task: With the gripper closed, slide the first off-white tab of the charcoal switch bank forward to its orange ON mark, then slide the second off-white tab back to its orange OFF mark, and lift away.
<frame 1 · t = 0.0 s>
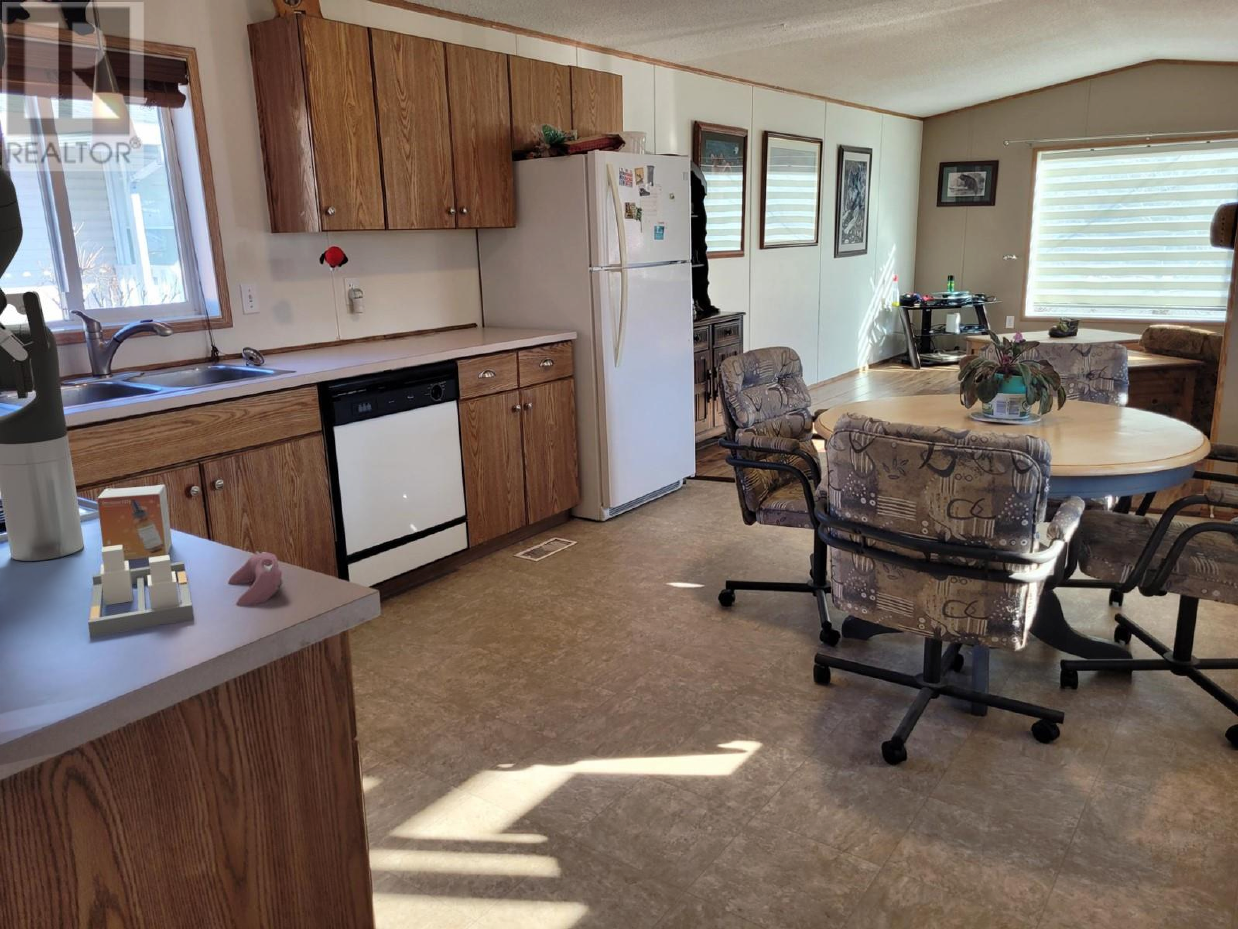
video game controller: (257, 601, 115), on the countertop
tab1: (115, 573, 111), point 5 cm above the countertop, slide at -3.0 cm
small box: (140, 562, 129), on the countertop
tab2: (162, 584, 107), point 5 cm above the countertop, slide at 4.0 cm
switch bank: (143, 612, 111), on the countertop
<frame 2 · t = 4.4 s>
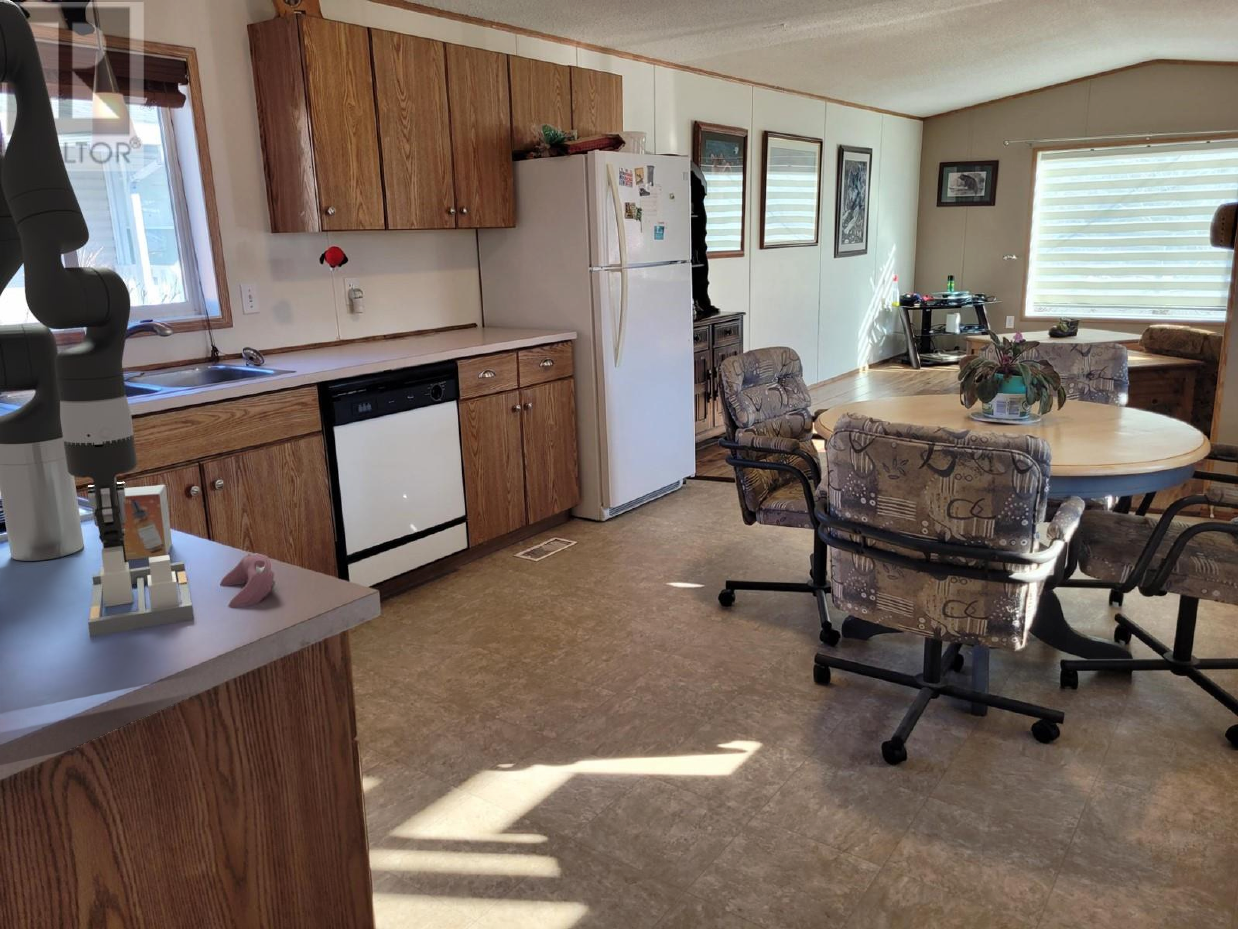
hand: (117, 567, 114), 4 cm above the countertop, tool pointing down, fingers closed
tab1: (115, 574, 111), point 5 cm above the countertop, slide at -2.4 cm, touching gripper
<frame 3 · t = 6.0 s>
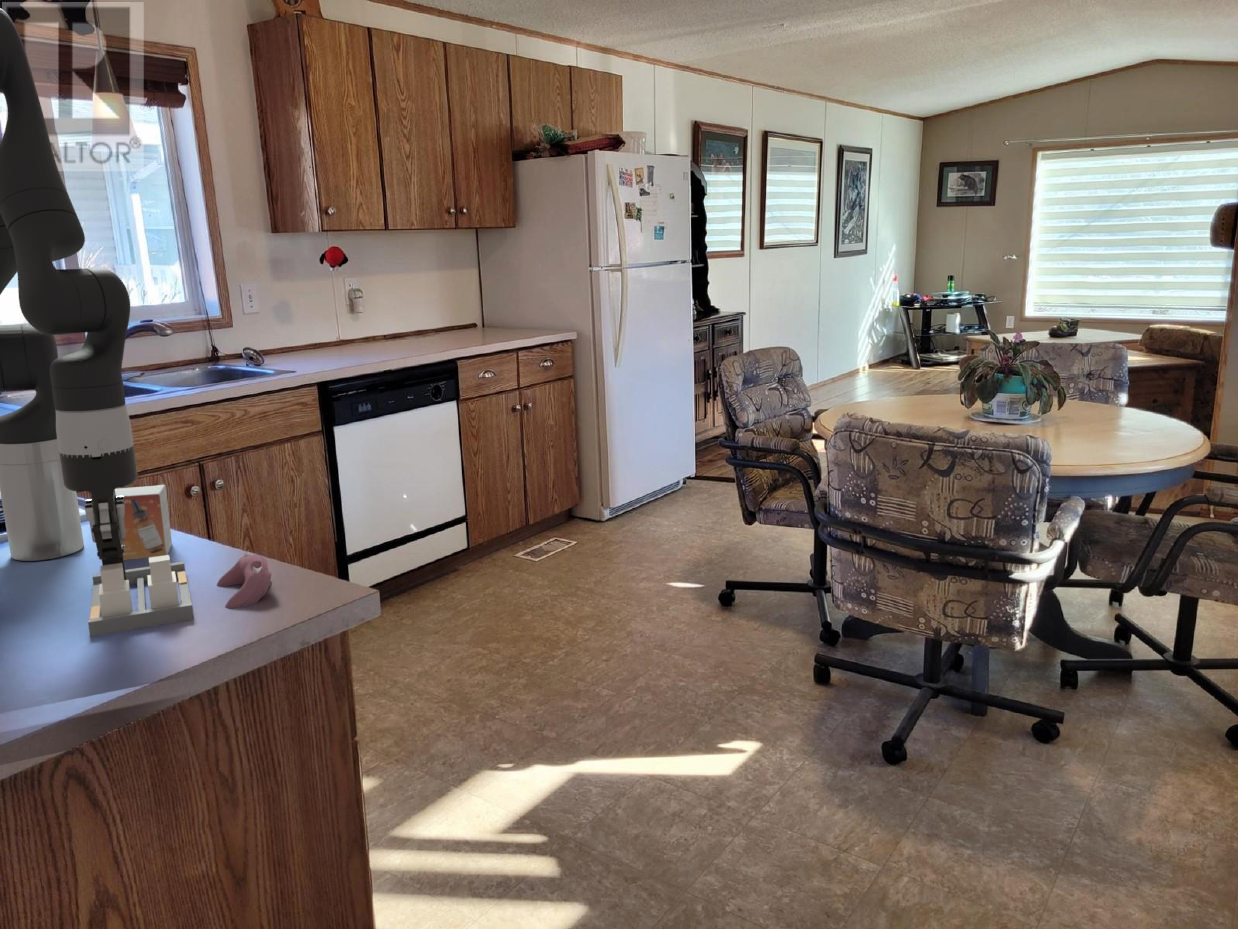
hand: (116, 585, 108), 4 cm above the countertop, tool pointing down, fingers closed
tab1: (115, 593, 105), point 5 cm above the countertop, slide at 4.5 cm, touching gripper
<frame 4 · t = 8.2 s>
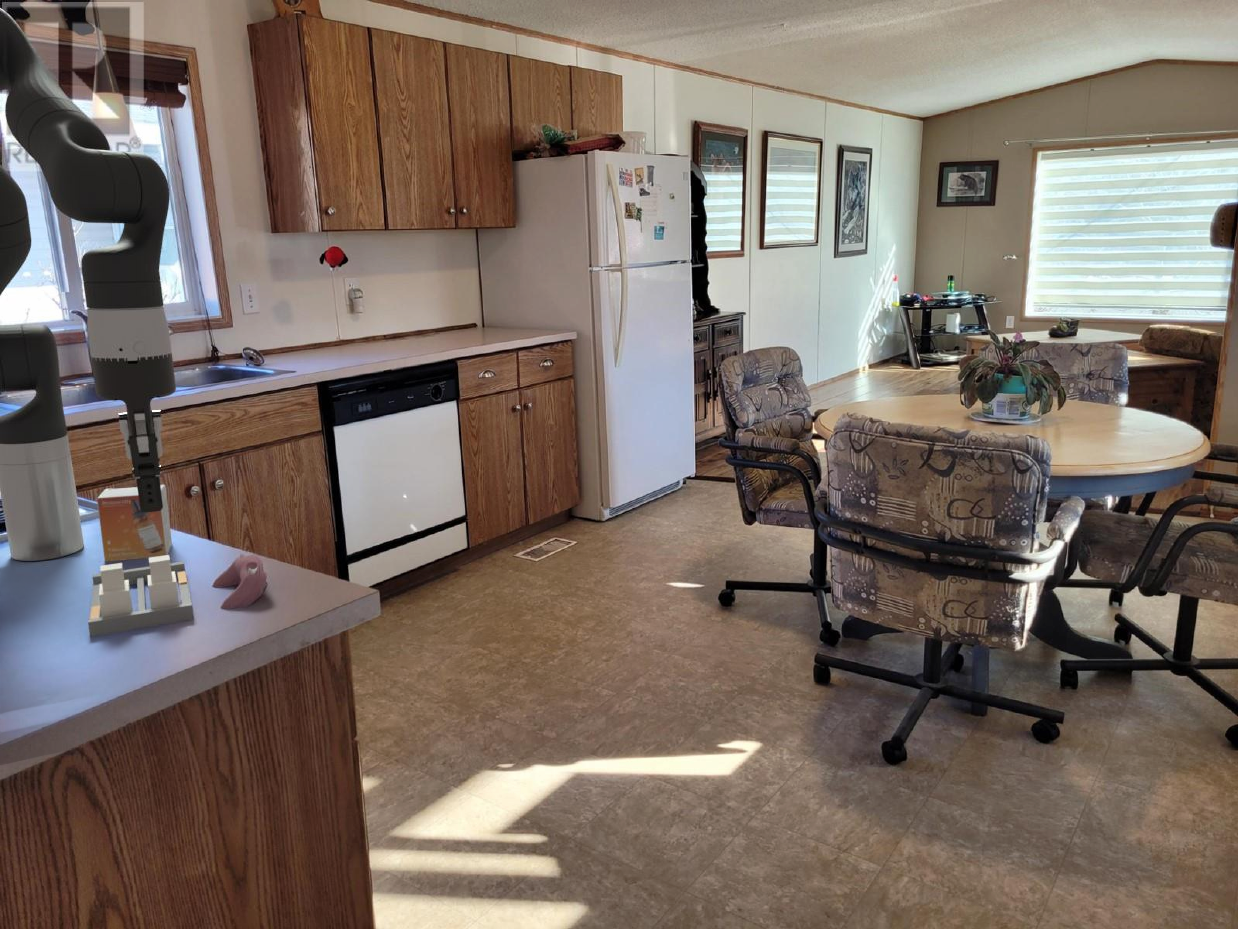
hand: (151, 510, 98), 16 cm above the countertop, tool pointing down, fingers closed
tab1: (115, 593, 105), point 5 cm above the countertop, slide at 4.5 cm
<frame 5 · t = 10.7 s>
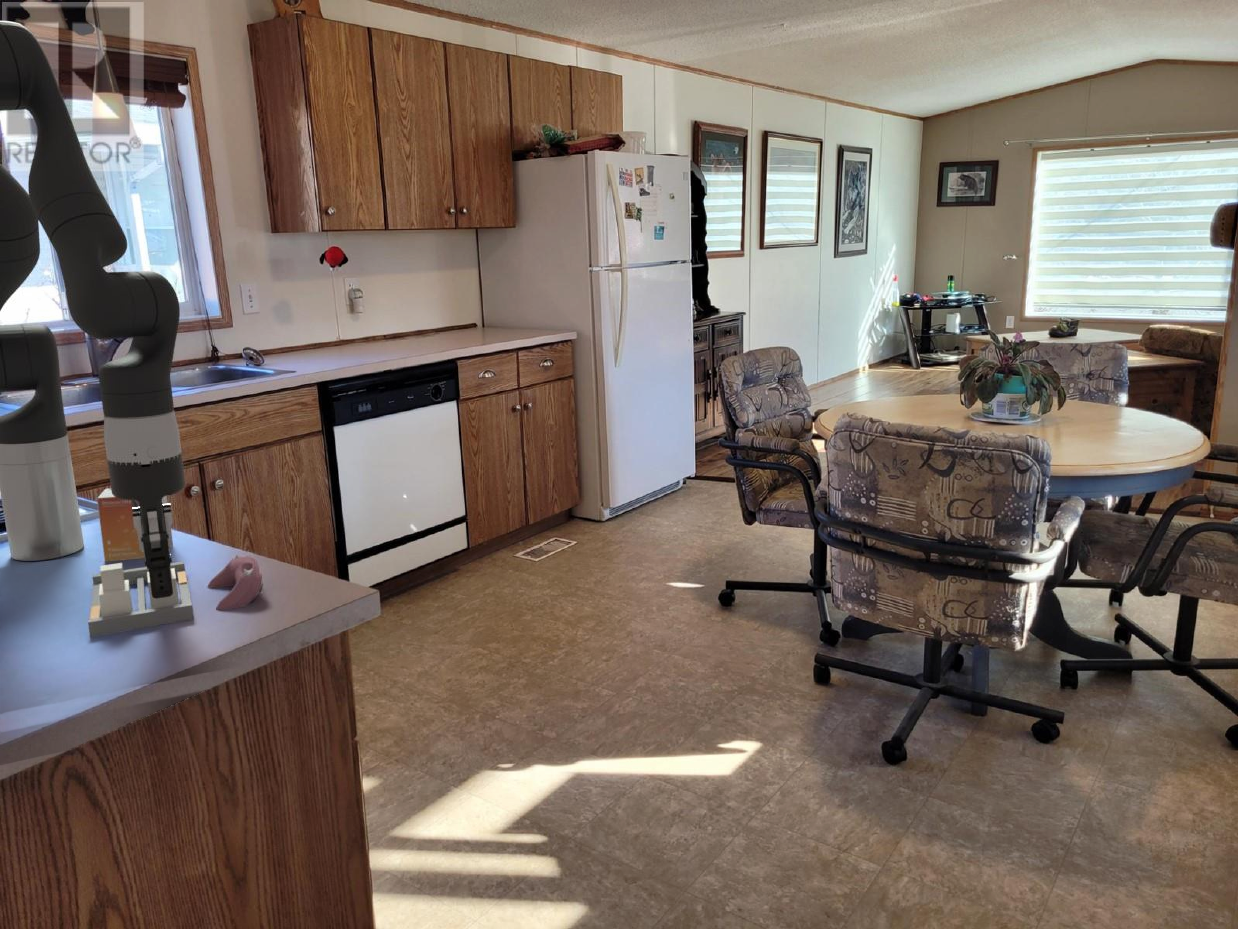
hand: (162, 595, 105), 4 cm above the countertop, tool pointing down, fingers closed
tab2: (162, 581, 109), point 5 cm above the countertop, slide at 2.7 cm, touching gripper
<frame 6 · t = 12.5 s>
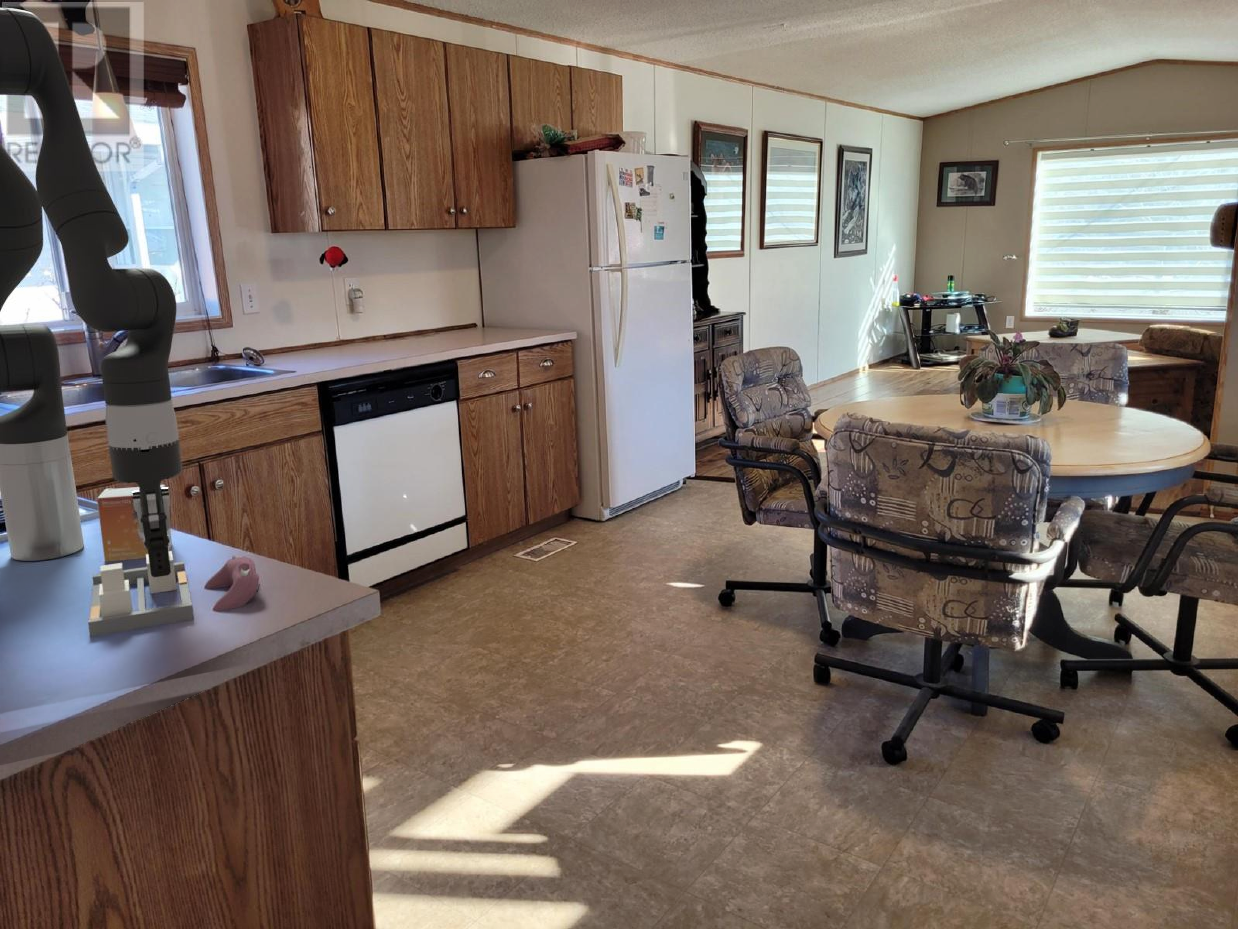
hand: (161, 574, 112), 4 cm above the countertop, tool pointing down, fingers closed
tab2: (160, 562, 115), point 5 cm above the countertop, slide at -4.5 cm, touching gripper
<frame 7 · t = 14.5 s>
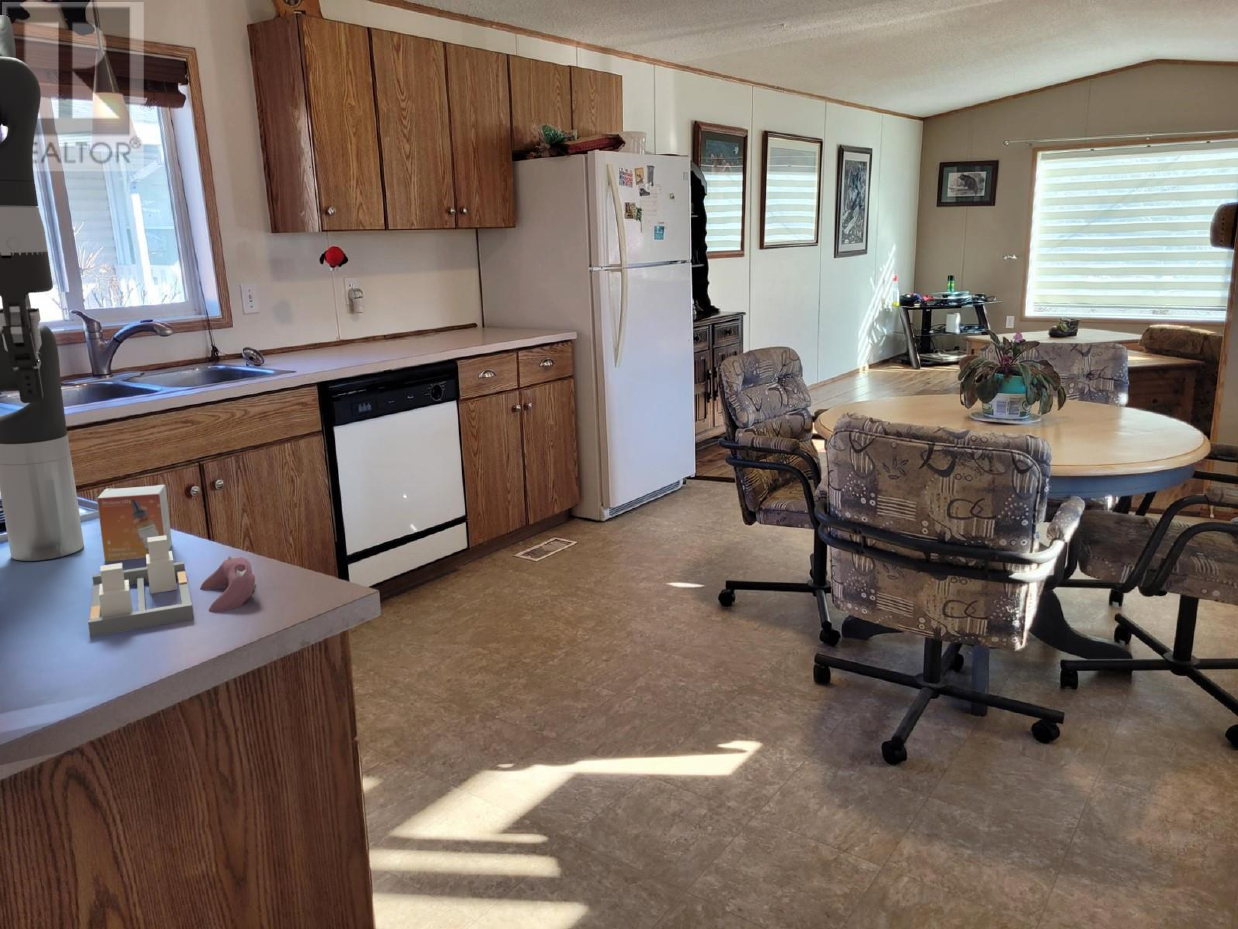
hand: (32, 401, 104), 26 cm above the countertop, tool pointing down, fingers closed
tab2: (160, 562, 115), point 5 cm above the countertop, slide at -4.6 cm
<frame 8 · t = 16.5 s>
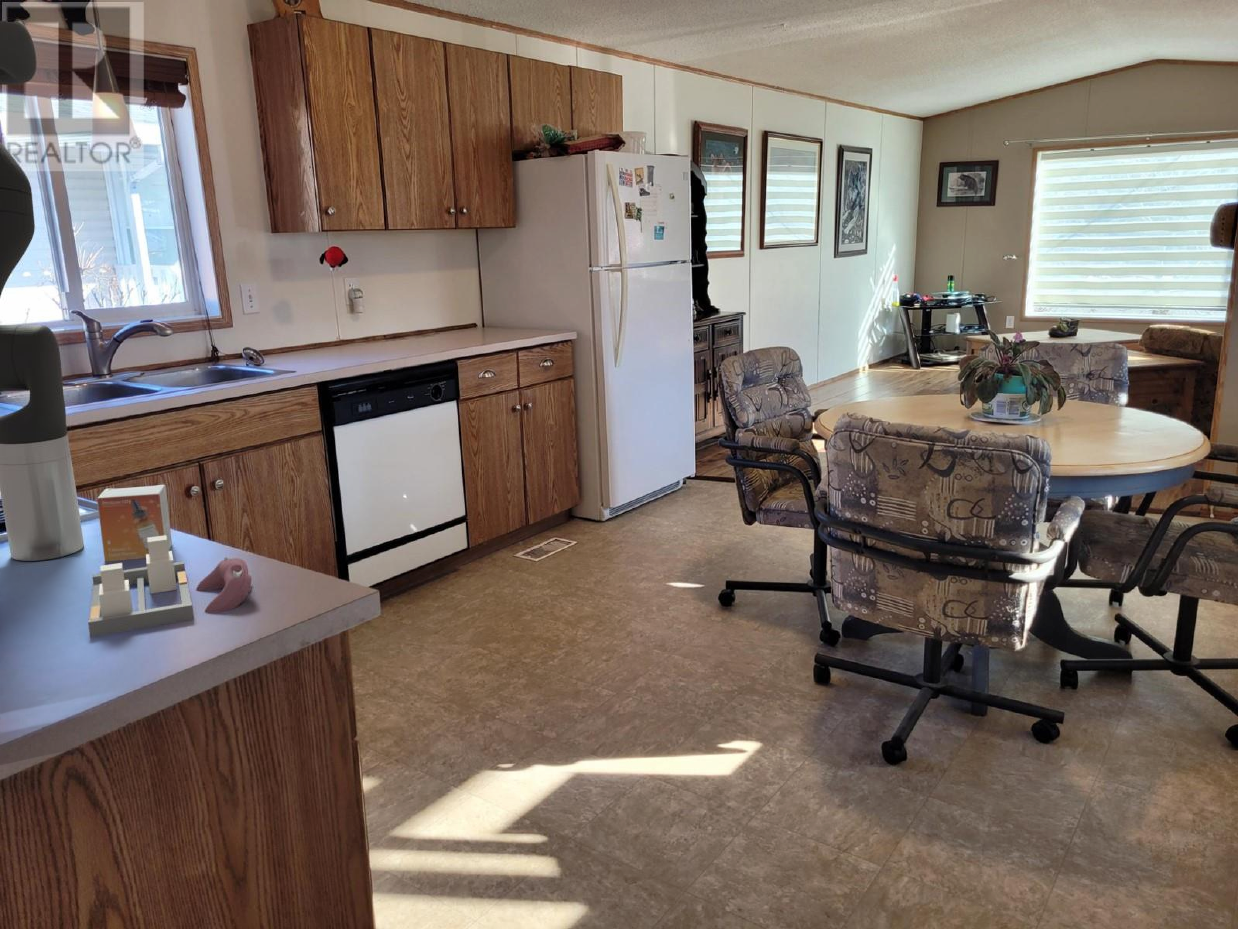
at the end: tab1 slide at 4.5 cm; tab2 slide at -4.6 cm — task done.
